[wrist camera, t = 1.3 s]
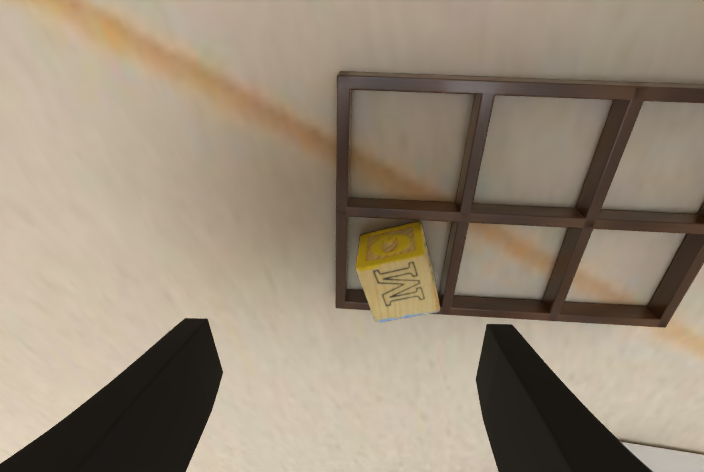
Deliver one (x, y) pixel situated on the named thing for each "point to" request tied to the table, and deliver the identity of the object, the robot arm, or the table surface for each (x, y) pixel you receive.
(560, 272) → the frame
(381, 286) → the alphabet block
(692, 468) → the milk carton
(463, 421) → the table surface
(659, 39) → the table surface
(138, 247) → the table surface
